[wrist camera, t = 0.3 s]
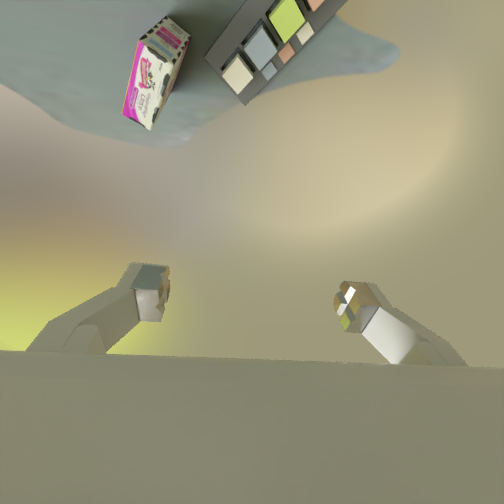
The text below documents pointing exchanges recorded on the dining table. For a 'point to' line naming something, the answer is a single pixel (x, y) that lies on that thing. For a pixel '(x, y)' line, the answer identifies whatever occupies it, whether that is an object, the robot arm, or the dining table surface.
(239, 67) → the key ivory
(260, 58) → the key slate
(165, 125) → the dining table surface
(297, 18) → the lime green cube
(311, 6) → the salmon cube
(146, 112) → the candy bar box
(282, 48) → the keypad board
